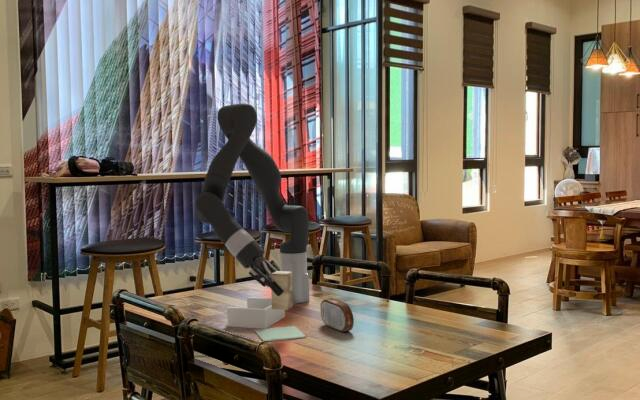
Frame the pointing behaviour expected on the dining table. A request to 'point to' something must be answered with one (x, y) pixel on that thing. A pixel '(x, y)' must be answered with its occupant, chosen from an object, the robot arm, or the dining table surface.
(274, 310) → the box
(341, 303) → the tin
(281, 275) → the maple block
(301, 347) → the dining table surface
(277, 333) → the sage mat
